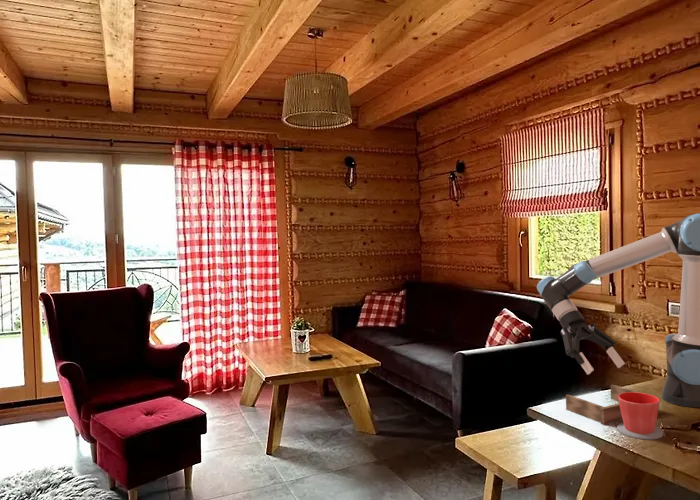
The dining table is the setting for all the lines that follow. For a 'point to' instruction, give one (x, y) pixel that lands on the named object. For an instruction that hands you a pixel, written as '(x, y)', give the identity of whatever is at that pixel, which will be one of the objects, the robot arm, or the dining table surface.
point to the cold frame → (598, 407)
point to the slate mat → (655, 435)
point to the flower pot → (639, 411)
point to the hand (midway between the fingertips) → (606, 369)
